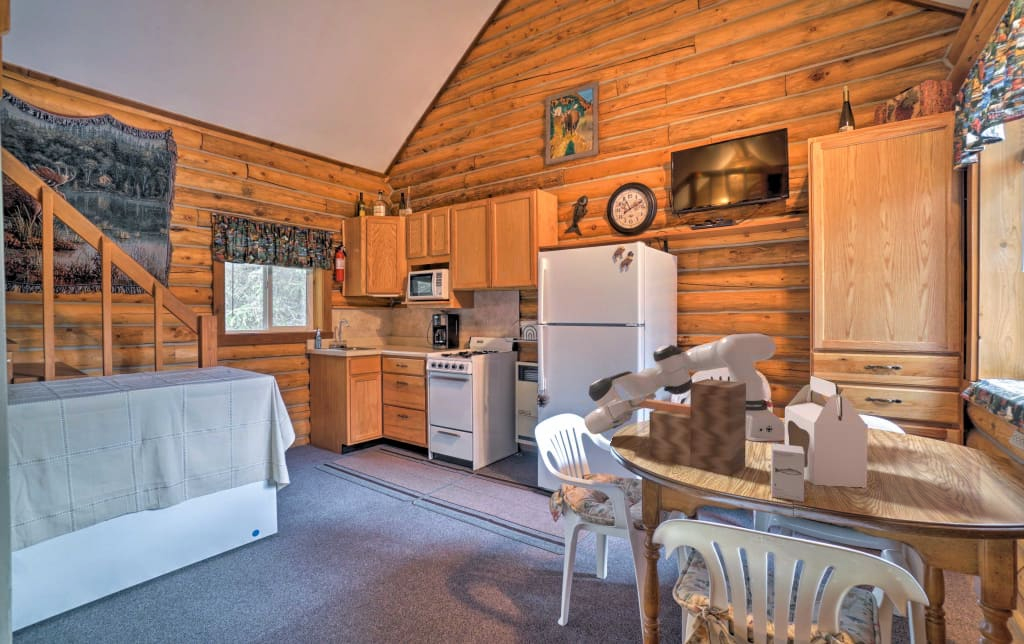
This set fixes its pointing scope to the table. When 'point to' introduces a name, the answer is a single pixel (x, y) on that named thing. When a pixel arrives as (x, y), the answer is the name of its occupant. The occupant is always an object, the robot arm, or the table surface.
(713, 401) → the stepped stand
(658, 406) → the bar
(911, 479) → the table surface
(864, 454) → the gable box
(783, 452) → the supplement box
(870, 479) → the table surface
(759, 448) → the table surface
